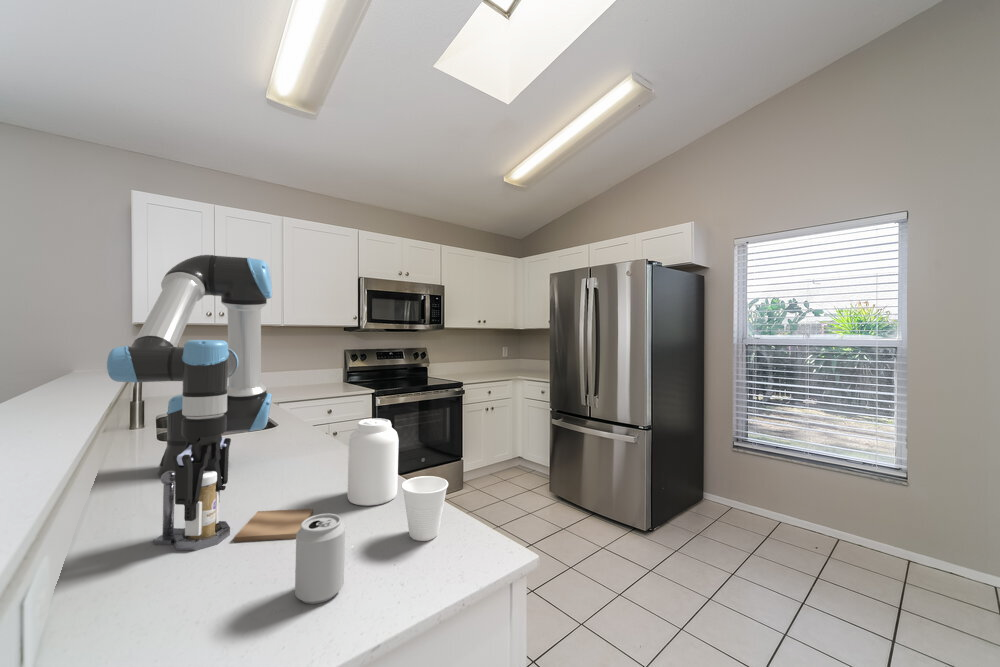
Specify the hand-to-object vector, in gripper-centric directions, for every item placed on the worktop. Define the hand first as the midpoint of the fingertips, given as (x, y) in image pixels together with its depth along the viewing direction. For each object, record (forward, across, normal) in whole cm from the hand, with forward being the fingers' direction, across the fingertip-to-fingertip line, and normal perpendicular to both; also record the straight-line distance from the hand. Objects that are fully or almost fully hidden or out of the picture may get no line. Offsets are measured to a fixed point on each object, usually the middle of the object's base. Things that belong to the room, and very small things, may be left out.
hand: (202, 528), depth 84 cm
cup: (+2, -4, +45) cm, 45 cm away
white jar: (+2, -23, +28) cm, 36 cm away
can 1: (+2, +16, +31) cm, 35 cm away
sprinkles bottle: (+2, 0, 0) cm, 2 cm away
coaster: (+2, -6, +12) cm, 14 cm away
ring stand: (+2, 0, -2) cm, 3 cm away
